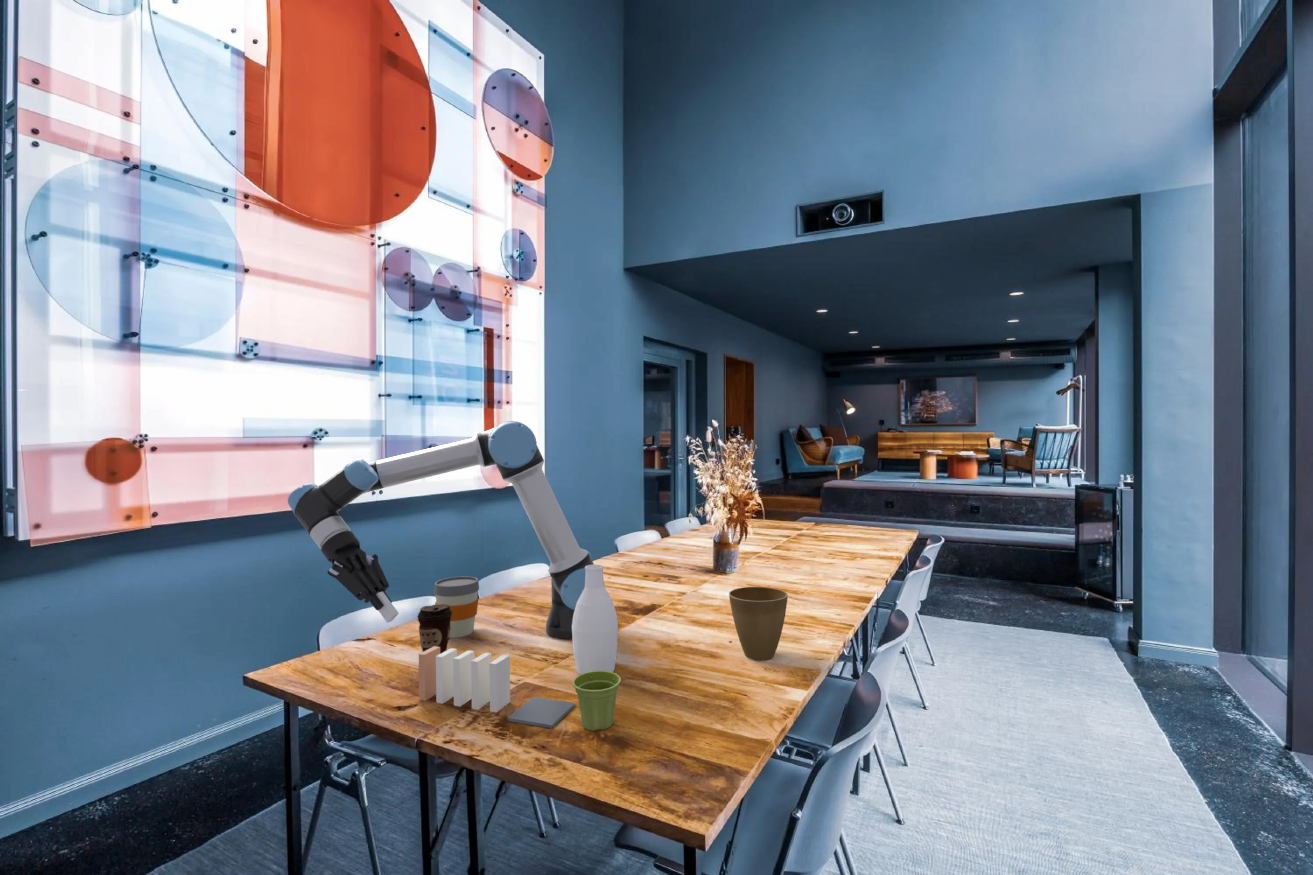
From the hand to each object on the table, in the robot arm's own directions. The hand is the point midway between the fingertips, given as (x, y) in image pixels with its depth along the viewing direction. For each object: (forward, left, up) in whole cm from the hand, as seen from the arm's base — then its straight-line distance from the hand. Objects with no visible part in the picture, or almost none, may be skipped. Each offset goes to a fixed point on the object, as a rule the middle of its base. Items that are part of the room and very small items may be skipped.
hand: (393, 617), depth 132 cm
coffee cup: (-6, -20, -17) cm, 26 cm away
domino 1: (-9, +4, -17) cm, 19 cm away
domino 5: (-24, +13, -17) cm, 32 cm away
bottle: (-46, -1, -17) cm, 48 cm away
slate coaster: (-33, +18, -16) cm, 41 cm away
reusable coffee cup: (-9, -39, -17) cm, 43 cm away
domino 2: (-12, +7, -17) cm, 22 cm away
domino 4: (-20, +11, -17) cm, 28 cm away
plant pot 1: (-44, +25, -17) cm, 53 cm away
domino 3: (-16, +9, -17) cm, 25 cm away
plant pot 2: (-88, -2, -17) cm, 89 cm away
